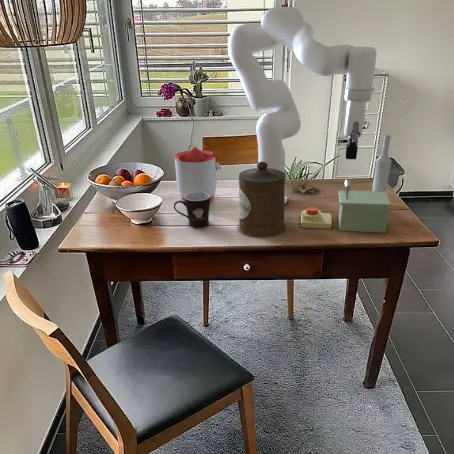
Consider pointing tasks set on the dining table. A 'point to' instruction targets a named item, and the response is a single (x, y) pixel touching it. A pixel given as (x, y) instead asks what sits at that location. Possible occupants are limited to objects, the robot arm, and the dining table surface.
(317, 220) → the control block
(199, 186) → the citrus juicer
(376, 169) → the bottle
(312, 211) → the button
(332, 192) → the dining table surface
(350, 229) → the compartment
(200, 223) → the coffee mug
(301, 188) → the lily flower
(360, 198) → the lid
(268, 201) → the wooden container
